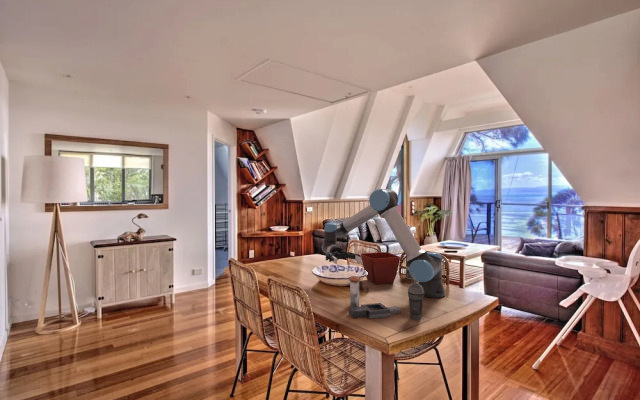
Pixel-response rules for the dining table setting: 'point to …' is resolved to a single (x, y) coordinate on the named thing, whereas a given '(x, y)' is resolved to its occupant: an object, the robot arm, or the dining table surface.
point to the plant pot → (380, 267)
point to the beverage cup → (415, 300)
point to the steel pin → (354, 291)
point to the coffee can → (408, 271)
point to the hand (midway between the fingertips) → (348, 261)
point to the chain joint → (373, 311)
